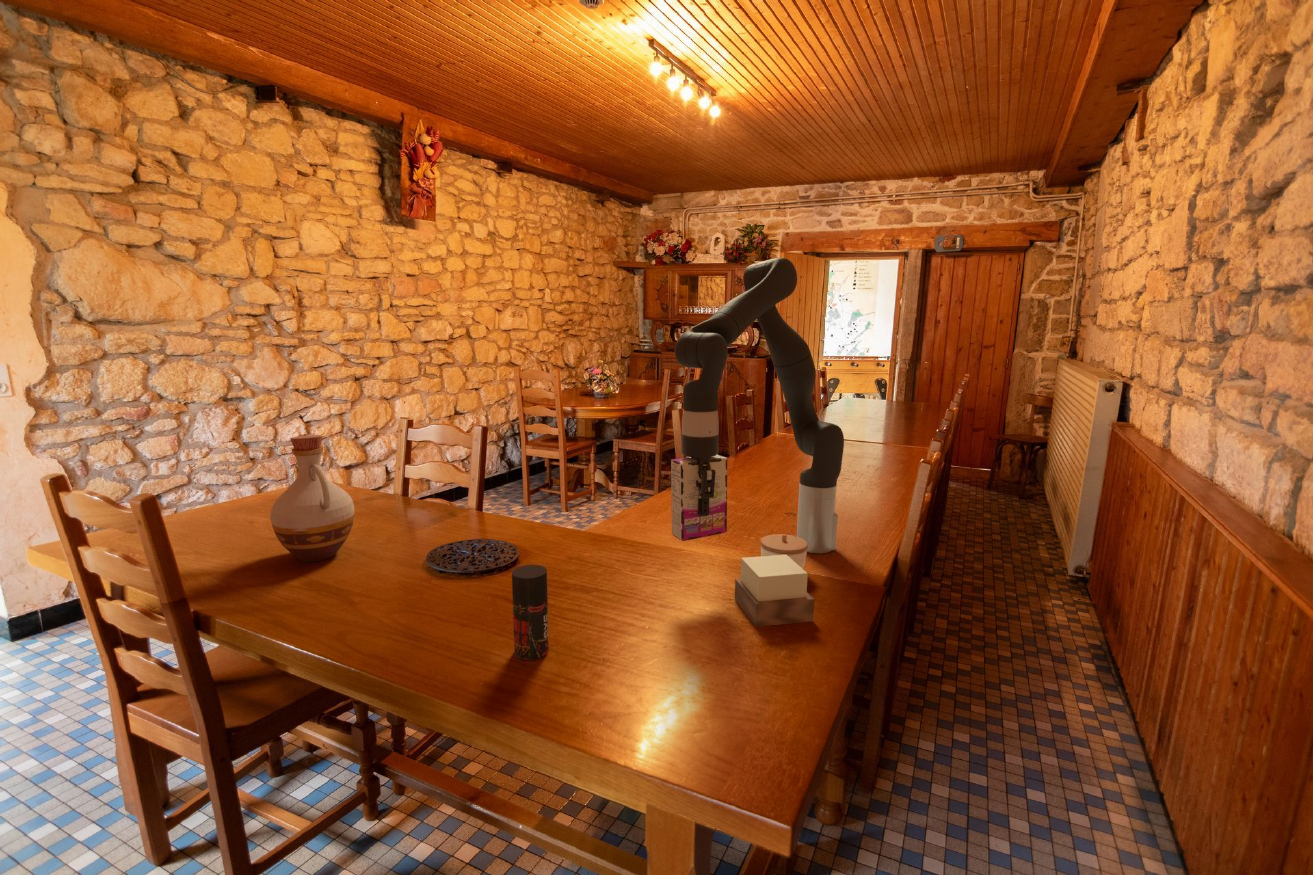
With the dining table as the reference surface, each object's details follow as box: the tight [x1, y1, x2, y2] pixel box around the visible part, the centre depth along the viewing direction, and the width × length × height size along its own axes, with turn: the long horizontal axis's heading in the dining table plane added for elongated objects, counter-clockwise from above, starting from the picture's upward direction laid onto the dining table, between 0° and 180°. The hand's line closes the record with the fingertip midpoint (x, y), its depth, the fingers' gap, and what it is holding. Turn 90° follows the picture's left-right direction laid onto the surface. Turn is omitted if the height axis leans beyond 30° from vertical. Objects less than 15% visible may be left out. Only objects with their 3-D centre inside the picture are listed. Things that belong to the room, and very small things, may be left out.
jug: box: [269, 434, 355, 563], centre depth 147 cm, size 20×18×30 cm
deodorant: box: [511, 564, 550, 662], centre depth 107 cm, size 6×6×15 cm
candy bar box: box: [670, 453, 728, 542], centre depth 128 cm, size 11×5×16 cm, turn 118°
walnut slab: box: [734, 578, 815, 628], centre depth 125 cm, size 12×12×5 cm
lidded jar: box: [760, 533, 808, 569], centre depth 143 cm, size 11×11×9 cm
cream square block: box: [739, 555, 809, 602], centre depth 124 cm, size 10×10×5 cm
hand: (699, 510), depth 128 cm, fingers closed on candy bar box, 5 cm apart
